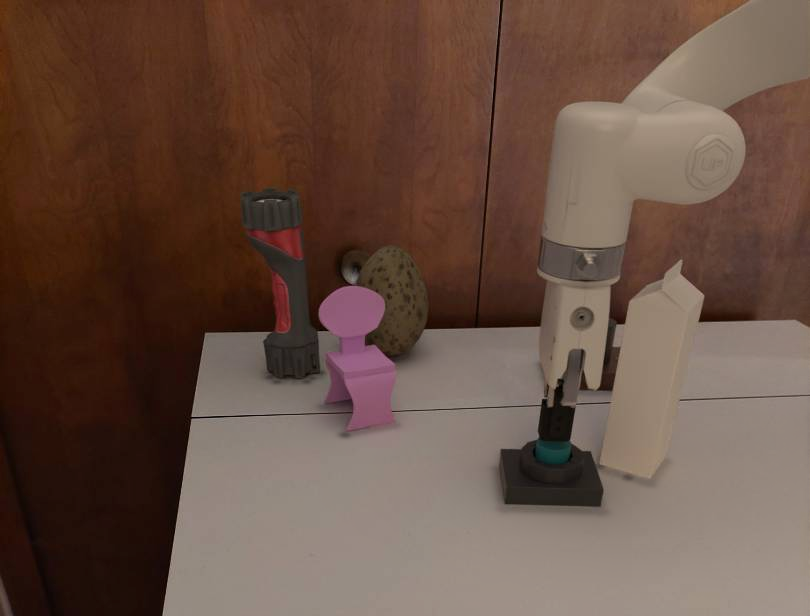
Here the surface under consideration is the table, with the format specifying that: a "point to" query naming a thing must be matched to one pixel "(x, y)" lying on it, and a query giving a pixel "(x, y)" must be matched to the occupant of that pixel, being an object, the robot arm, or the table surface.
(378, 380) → the toy chair
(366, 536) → the table surface
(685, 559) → the table surface
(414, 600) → the table surface
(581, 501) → the push button base
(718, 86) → the robot arm
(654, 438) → the milk
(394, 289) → the decorative egg
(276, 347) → the flashlight
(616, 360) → the dial panel
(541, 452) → the teal push button
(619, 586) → the table surface
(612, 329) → the dial
